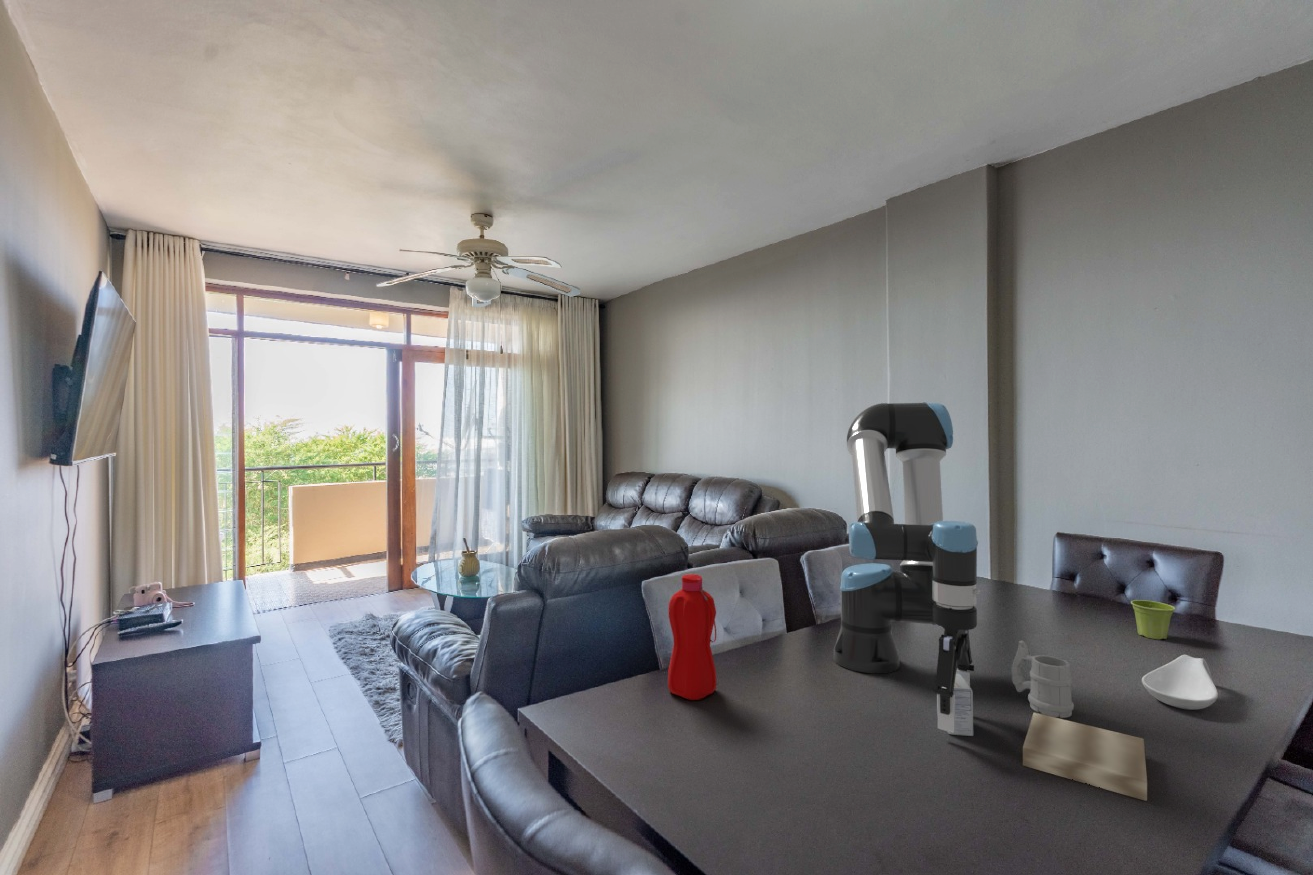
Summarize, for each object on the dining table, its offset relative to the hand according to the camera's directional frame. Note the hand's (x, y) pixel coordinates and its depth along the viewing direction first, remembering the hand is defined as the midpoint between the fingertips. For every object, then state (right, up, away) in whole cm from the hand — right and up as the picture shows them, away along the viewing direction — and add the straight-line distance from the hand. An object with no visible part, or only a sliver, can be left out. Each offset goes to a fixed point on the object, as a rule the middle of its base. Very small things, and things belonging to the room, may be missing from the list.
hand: (954, 716), depth 113 cm
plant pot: (+80, -2, +51) cm, 95 cm away
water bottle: (-48, -2, +15) cm, 50 cm away
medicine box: (0, -2, 0) cm, 2 cm away
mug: (+22, -2, +9) cm, 23 cm away
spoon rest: (+56, -2, +13) cm, 57 cm away
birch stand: (+16, -2, -12) cm, 20 cm away
